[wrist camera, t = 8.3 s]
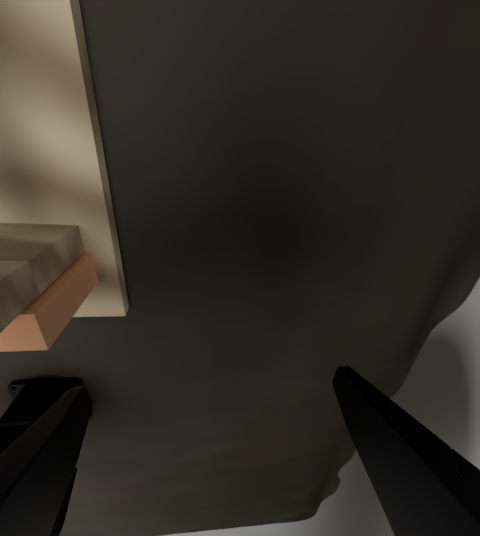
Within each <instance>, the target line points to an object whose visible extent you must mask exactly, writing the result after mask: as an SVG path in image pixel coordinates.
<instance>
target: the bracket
mask: <svg viewBox="0 0 480 536" xmlns="http://www.w3.org/2000/svg"><path fill="white" fill-rule="evenodd" d="M83 253H93V258H94V262H95V267H96V271H97V276H98V280H99V281H98V283H97V284H96V286H95V287H94V288H93V290H92V291H91V292H90V294H89V295H88V296H87V298H86V299H85V301H84V302H83V303H82V305H81V306H80V307H79V309H78V310H77V312H76V313H75V314H74V316H73V317H102V316H126V313H127V311H128V309H129V304H128V298H127V291H126V285H125V279H124V273H123V267H122V261H121V255H120V249H119V243H118V236H117V230H116V224H115V218H114V212H113V206H112V200H111V194H110V188H109V182H108V175H107V169H106V163H105V157H104V151H103V145H102V139H101V133H100V127H99V120H98V114H97V108H96V102H95V96H94V90H93V84H92V78H91V72H90V65H89V59H88V53H87V47H86V41H85V35H84V29H83V23H82V17H81V11H80V4H79V0H0V333H1V332H2V331H3V330H4V329H5V328H6V327H7V326H8V325H9V324H10V323H11V322H12V321H13V320H14V319H16V318H17V317H18V316H19V315H20V314H21V313H22V312H23V311H24V310H25V309H26V308H27V307H28V306H29V305H30V304H31V303H32V302H33V301H34V300H35V299H36V298H37V297H38V296H39V295H40V294H41V293H43V292H44V291H45V290H46V289H47V288H48V287H49V286H50V285H51V284H52V283H53V282H54V281H55V280H56V279H57V278H58V277H59V276H60V275H61V274H62V273H63V272H64V271H65V270H66V269H67V268H68V267H69V266H71V265H72V264H73V263H74V262H75V261H76V260H77V259H78V258H79V257H80V256H81V255H82V254H83Z"/></svg>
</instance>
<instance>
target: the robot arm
mask: <svg viewBox="0 0 480 536" xmlns="http://www.w3.org/2000/svg"><path fill="white" fill-rule="evenodd" d="M333 387H334V390H335V393H336V396H337V399H338V402H339V405H340V408H341V411H342V414H343V417H344V420H345V423H346V426H347V428H348V431H349V433H350V436H351V438H352V440H353V442H354V445H355V447H356V449H357V451H358V454H359V456H360V458H361V460H362V463H363V465H364V467H365V469H366V472H367V474H368V476H369V478H370V481H371V483H372V485H373V487H374V490H375V492H376V494H377V496H378V499H379V501H380V503H381V506H382V508H383V510H384V512H385V515H386V517H387V519H388V521H389V524H390V526H391V528H392V530H393V533H394V535H395V536H480V470H479V469H478V468H477V467H475V466H474V465H473V464H471V463H470V462H469V461H468V460H466V459H465V458H464V457H463V456H461V455H460V454H459V453H458V452H456V451H455V450H454V449H451V447H450V446H449V445H447V444H446V443H445V442H444V441H442V440H441V439H440V438H438V437H437V436H436V435H435V434H434V433H432V432H431V431H430V430H429V429H427V428H426V427H425V426H424V425H422V424H421V423H420V422H419V421H417V420H416V419H415V418H413V417H412V416H411V415H410V414H408V413H407V412H406V411H405V410H403V409H402V408H401V407H400V406H398V405H397V404H396V403H395V402H393V401H392V400H391V399H390V398H388V397H387V396H386V395H385V394H383V393H382V392H381V391H380V390H378V389H377V388H376V387H375V386H373V385H372V384H371V383H369V382H368V381H367V380H366V379H364V378H363V377H362V376H361V375H359V374H358V373H357V372H356V371H354V370H353V369H352V368H351V367H349V366H340V367H338V368H337V370H336V372H335V375H334V378H333ZM8 390H9V391H10V393H11V395H12V397H13V399H14V400H13V402H12V403H11V404H10V406H9V407H8V408H7V410H6V411H5V413H4V414H3V415H2V417H1V418H0V536H59V534H60V532H61V529H62V527H63V524H64V520H65V516H66V512H67V508H68V504H69V500H70V496H71V492H72V488H73V484H74V480H75V476H76V472H77V468H75V466H76V463H77V461H78V457H79V454H80V450H81V446H82V443H83V439H84V435H85V431H86V428H87V424H88V420H89V419H90V418H91V416H92V411H91V409H92V400H91V397H90V395H89V392H88V389H87V388H86V387H84V386H83V384H82V381H81V380H80V379H78V378H72V379H52V380H32V381H14V382H11V383H10V385H9V386H8Z"/></svg>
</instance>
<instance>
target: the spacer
mask: <svg viewBox="0 0 480 536" xmlns="http://www.w3.org/2000/svg"><path fill="white" fill-rule="evenodd" d="M98 281H99V280H98V276H97V271H96V267H95V262H94V258H93V253H83V254H82V255H81V256H80V257H79V258H78V259H77V260H76V261H75V262H74V263H73V264H72V265H71V266H69V267H68V268H67V269H66V270H65V271H64V272H63V273H62V274H61V275H60V276H59V277H58V278H57V279H56V280H55V281H54V282H53V283H52V284H51V285H50V286H49V287H48V288H47V289H46V290H45V291H44V292H43V293H41V294H40V295H39V296H38V297H37V298H36V299H35V300H34V301H33V302H32V303H31V304H30V305H29V306H28V307H27V308H26V309H25V310H24V311H23V312H22V313H21V314H20V315H19V316H18V317H17V318H16V319H14V320H13V321H12V322H11V323H10V324H9V325H8V326H7V327H6V328H5V329H4V330H3V331H2V332H1V333H0V352H7V351H36V350H49V348H50V347H51V346H52V344H53V343H54V342H55V340H56V339H57V337H58V336H59V335H60V333H61V332H62V331H63V329H64V328H65V327H66V325H67V324H68V322H69V321H70V320H71V318H72V317H73V316H74V314H75V313H76V312H77V310H78V309H79V307H80V306H81V305H82V303H83V302H84V301H85V299H86V298H87V296H88V295H89V294H90V292H91V291H92V290H93V288H94V287H95V286H96V284H97V283H98Z"/></svg>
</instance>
